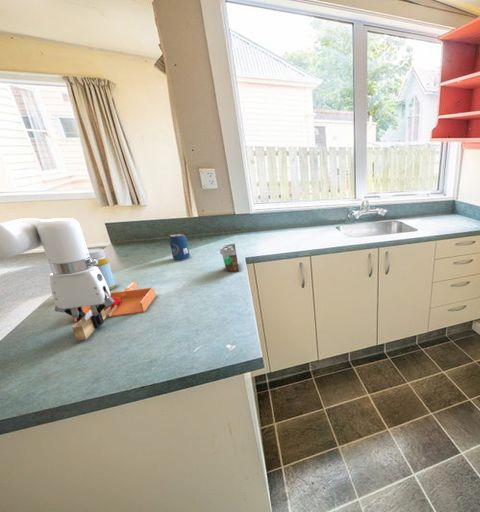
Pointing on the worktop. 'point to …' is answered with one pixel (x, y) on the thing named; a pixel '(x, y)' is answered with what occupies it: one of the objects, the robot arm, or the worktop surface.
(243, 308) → the worktop surface
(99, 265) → the bottle
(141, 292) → the dustpan
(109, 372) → the worktop surface
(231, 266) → the food container
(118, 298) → the strawberry
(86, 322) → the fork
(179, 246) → the soda can
